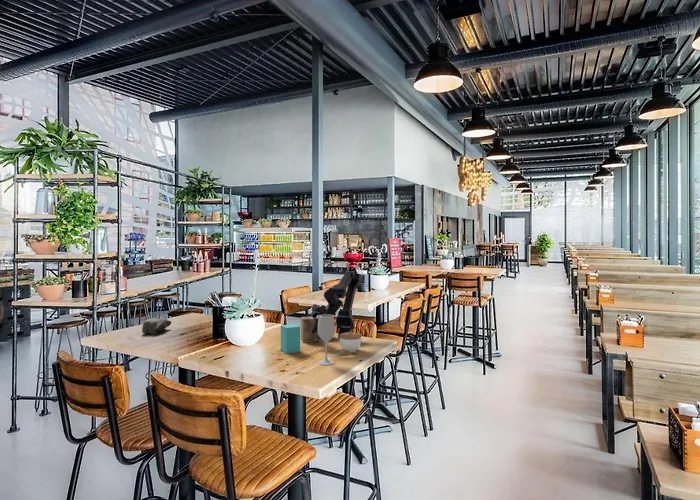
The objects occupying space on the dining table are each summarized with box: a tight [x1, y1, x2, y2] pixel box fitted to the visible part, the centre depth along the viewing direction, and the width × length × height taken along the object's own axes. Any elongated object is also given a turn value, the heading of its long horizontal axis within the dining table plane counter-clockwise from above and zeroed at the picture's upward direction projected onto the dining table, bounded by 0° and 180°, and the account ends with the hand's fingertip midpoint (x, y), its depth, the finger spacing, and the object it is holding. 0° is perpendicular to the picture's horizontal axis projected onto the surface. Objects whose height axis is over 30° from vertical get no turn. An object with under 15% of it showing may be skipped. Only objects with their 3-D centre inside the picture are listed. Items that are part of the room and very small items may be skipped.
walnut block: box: [300, 316, 317, 343], centre depth 229 cm, size 7×7×12 cm
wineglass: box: [317, 314, 336, 366], centre depth 191 cm, size 8×8×21 cm
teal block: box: [280, 323, 301, 354], centre depth 208 cm, size 7×7×12 cm
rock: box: [141, 316, 172, 335], centre depth 252 cm, size 18×11×8 cm, turn 2°
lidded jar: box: [339, 331, 362, 353], centre depth 212 cm, size 11×11×9 cm
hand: (311, 332), depth 214 cm, fingers closed
